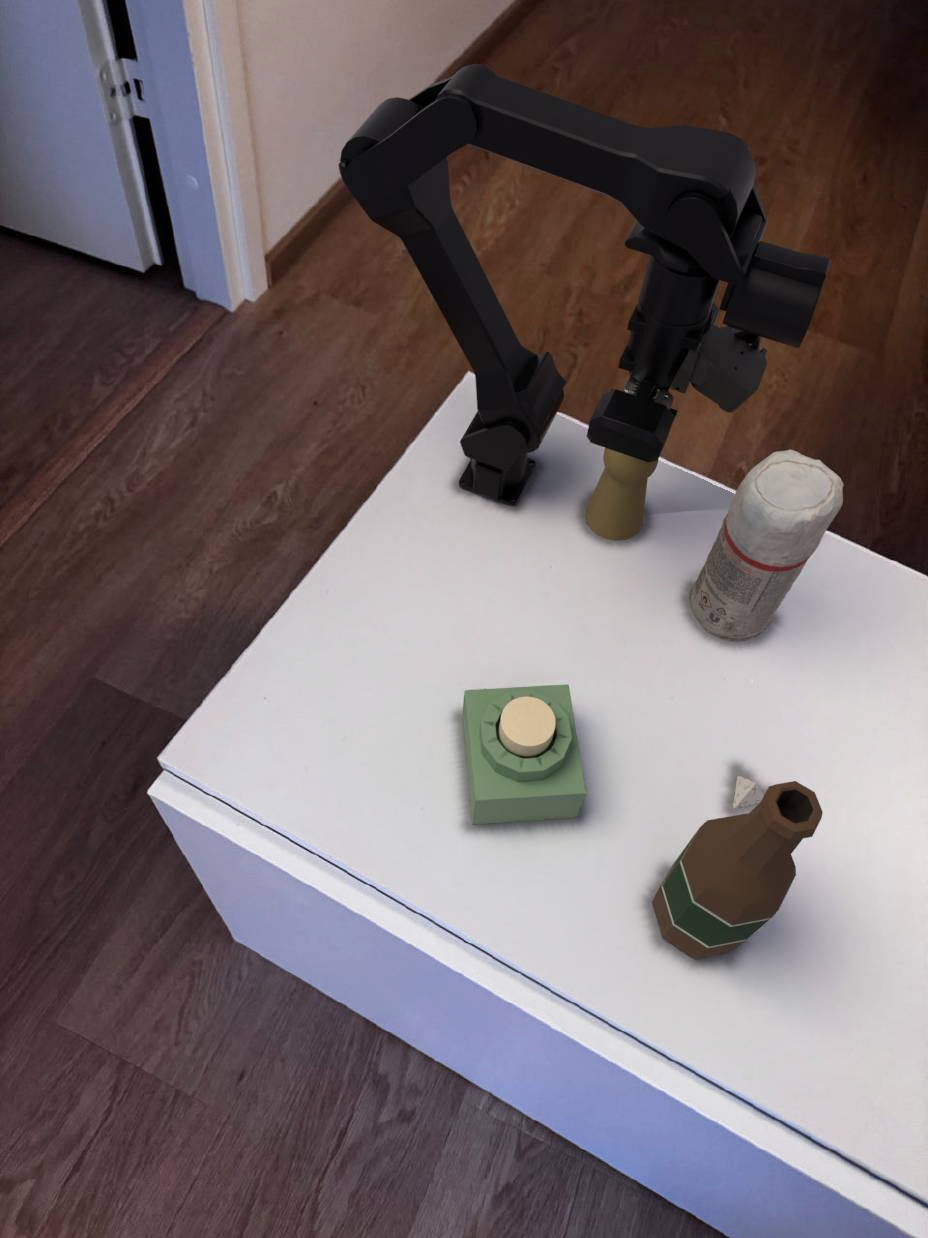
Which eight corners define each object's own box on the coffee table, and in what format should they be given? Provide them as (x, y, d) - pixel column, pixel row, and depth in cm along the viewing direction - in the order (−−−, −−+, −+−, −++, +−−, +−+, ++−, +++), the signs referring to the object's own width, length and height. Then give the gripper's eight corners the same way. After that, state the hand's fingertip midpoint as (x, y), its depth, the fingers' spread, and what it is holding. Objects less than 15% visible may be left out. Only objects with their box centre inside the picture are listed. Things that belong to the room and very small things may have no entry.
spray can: (778, 648, 93) (860, 519, 76) (693, 644, 92) (755, 514, 76) (765, 575, 97) (840, 438, 80) (684, 571, 97) (741, 433, 80)
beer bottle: (742, 972, 77) (861, 881, 56) (644, 951, 77) (727, 853, 57) (746, 877, 81) (860, 760, 60) (654, 857, 81) (734, 734, 61)
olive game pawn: (623, 550, 98) (645, 479, 89) (573, 520, 100) (590, 447, 90) (653, 513, 101) (678, 441, 91) (605, 485, 102) (624, 411, 93)
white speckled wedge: (752, 779, 87) (758, 756, 85) (768, 802, 85) (774, 779, 83) (717, 787, 86) (721, 764, 84) (731, 811, 84) (736, 788, 82)
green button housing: (461, 718, 87) (465, 678, 81) (560, 712, 88) (572, 672, 82) (471, 825, 82) (476, 791, 76) (576, 817, 83) (590, 783, 76)
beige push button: (496, 709, 80) (497, 697, 78) (548, 706, 80) (551, 694, 79) (501, 758, 78) (504, 747, 76) (556, 755, 78) (559, 744, 76)
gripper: (744, 412, 71) (692, 540, 84) (800, 261, 80) (745, 398, 93) (600, 365, 73) (571, 497, 86) (671, 223, 82) (635, 362, 95)
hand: (636, 437), depth 90 cm, fingers open, 3 cm apart
